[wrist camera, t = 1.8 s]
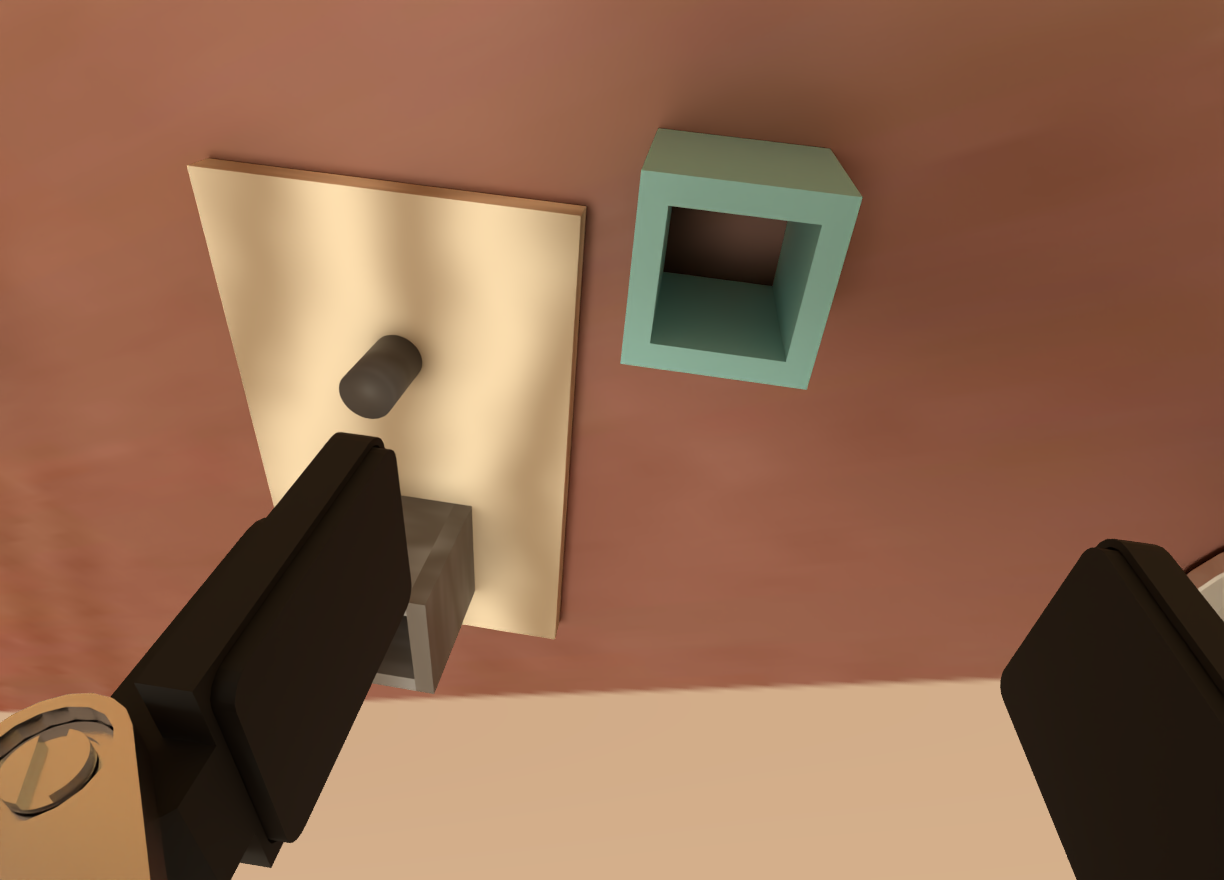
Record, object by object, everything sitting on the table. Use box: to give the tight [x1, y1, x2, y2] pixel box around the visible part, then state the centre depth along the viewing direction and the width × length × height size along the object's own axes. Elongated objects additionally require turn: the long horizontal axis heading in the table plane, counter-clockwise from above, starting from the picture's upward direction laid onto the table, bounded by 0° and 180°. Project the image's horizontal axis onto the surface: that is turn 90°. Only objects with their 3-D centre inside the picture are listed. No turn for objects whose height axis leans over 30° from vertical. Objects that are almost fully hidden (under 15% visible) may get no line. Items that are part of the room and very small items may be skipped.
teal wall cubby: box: [621, 128, 863, 390], centre depth 21 cm, size 6×6×6 cm
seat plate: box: [187, 158, 586, 694], centre depth 28 cm, size 14×22×7 cm, turn 175°
